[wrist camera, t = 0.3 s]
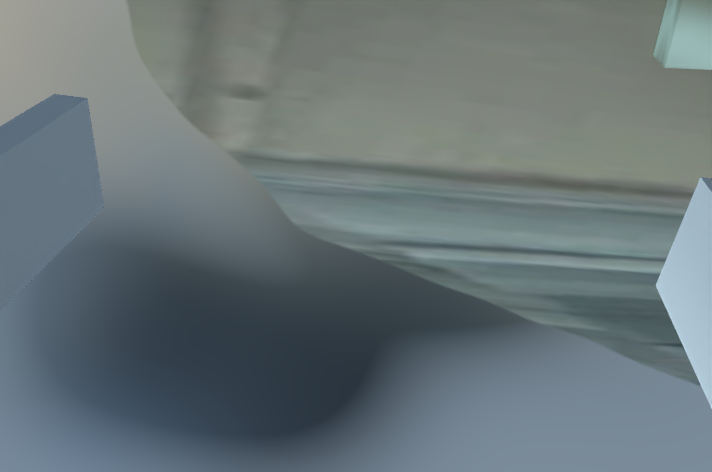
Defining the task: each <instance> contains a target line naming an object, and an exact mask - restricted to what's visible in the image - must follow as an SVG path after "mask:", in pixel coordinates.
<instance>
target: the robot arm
mask: <svg viewBox="0 0 712 472" xmlns="http://www.w3.org/2000/svg"><path fill="white" fill-rule="evenodd" d="M103 208H104V202H103V196H102V189H101V183H100V176H99V170H98V163H97V157H96V151H95V144H94V138H93V131H92V125H91V118H90V112H89V105H88V99H87V98H81V97H74V96H66V95H58V94H54V95H52V96H51V97H49V98H47V99H45V100H44V101H42V102H40V103H39V104H37V105H35V106H34V107H32V108H30V109H29V110H27V111H25V112H24V113H22V114H20V115H19V116H17V117H15V118H14V119H12V120H10V121H9V122H7V123H5V124H4V125H2V126H0V311H1V310H2V309H3V308H4V307H5V306H6V305H7V304H8V303H9V302H10V301H11V300H12V299H13V298H14V297H15V296H16V295H17V294H18V293H19V292H20V291H21V290H22V289H23V288H24V287H25V286H26V285H27V284H28V283H29V282H30V281H31V280H32V279H33V278H34V277H35V276H36V275H37V274H38V273H39V272H40V271H41V270H42V269H43V268H44V267H45V266H46V265H47V264H48V263H49V262H50V261H51V260H52V259H53V258H54V257H55V256H56V255H57V254H58V253H59V252H60V251H61V250H62V249H63V248H64V247H65V246H66V245H67V244H68V243H69V242H70V241H71V240H72V239H73V238H74V237H75V236H76V235H77V234H78V233H79V232H80V231H81V230H82V229H83V228H84V227H85V226H86V225H87V224H88V223H89V222H90V221H91V220H92V219H93V218H94V217H95V216H96V215H97V214H98V213H99V212H100V211H101V210H102V209H103ZM656 287H657V289H658V291H659V294H660V296H661V298H662V300H663V303H664V305H665V307H666V309H667V311H668V314H669V316H670V318H671V320H672V322H673V325H674V327H675V329H676V331H677V333H678V336H679V338H680V340H681V342H682V344H683V347H684V349H685V351H686V353H687V355H688V358H689V360H690V362H691V364H692V366H693V369H694V371H695V373H696V375H697V377H698V380H699V382H700V384H701V386H702V388H703V391H704V393H705V395H706V397H707V399H708V401H709V404H710V406H711V408H712V179H711V178H703V177H700V180H699V182H698V185H697V187H696V189H695V192H694V194H693V197H692V199H691V202H690V204H689V206H688V209H687V211H686V214H685V216H684V218H683V221H682V223H681V226H680V228H679V231H678V233H677V235H676V238H675V240H674V243H673V245H672V247H671V250H670V252H669V255H668V257H667V260H666V262H665V264H664V267H663V269H662V272H661V274H660V276H659V279H658V281H657V284H656Z"/></svg>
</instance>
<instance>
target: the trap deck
mask: <svg viewBox="0 0 712 472" xmlns="http://www.w3.org/2000/svg"><path fill="white" fill-rule="evenodd" d="M653 56H654V57H655V58H656V59H657V60H658V61H659V62H660V63H661V64H662V65H663V66H664V67H665V68H685V69H709V70H712V0H667V3H666V7H665V11H664V15H663V19H662V23H661V27H660V31H659V35H658V39H657V43H656V47H655V51H654V55H653Z"/></svg>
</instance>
